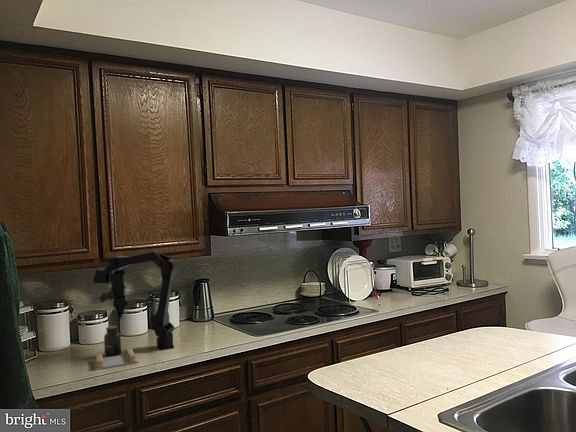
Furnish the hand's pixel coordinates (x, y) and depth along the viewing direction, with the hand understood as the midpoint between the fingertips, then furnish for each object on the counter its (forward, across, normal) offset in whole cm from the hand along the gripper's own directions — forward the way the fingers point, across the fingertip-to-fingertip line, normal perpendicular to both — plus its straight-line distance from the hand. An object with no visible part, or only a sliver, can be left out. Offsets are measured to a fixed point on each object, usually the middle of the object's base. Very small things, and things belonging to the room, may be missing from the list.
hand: (119, 318), depth 214 cm
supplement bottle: (+13, +11, -4) cm, 18 cm away
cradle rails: (+13, +22, -4) cm, 26 cm away
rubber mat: (+13, +22, -4) cm, 26 cm away
